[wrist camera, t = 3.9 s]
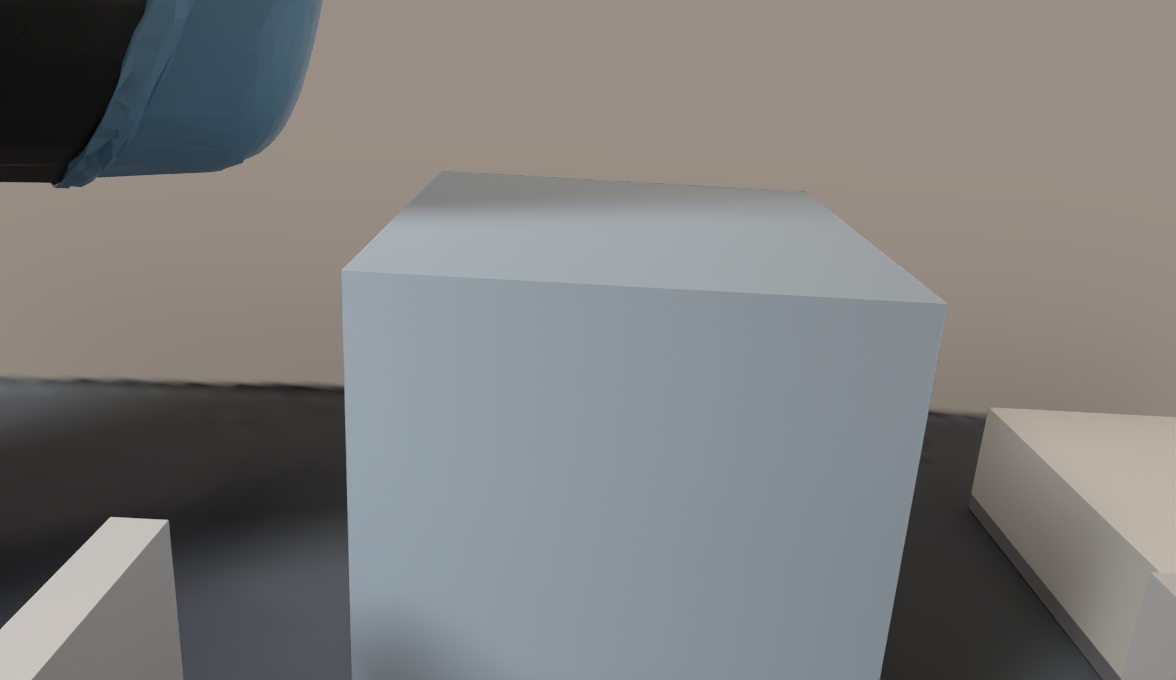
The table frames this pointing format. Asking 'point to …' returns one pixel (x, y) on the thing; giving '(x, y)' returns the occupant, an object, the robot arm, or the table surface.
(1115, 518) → the socket
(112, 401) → the table surface
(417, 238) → the grey-blue block
